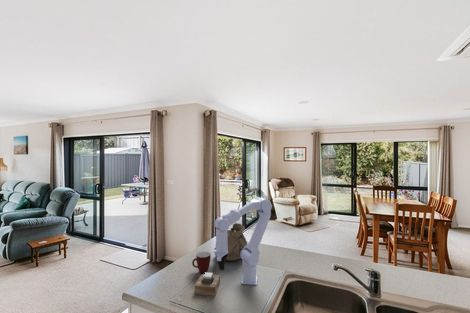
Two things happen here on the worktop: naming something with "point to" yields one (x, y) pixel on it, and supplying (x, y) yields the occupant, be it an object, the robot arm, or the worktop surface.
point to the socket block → (207, 286)
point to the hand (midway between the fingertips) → (221, 269)
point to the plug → (208, 278)
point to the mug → (202, 261)
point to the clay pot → (235, 242)
